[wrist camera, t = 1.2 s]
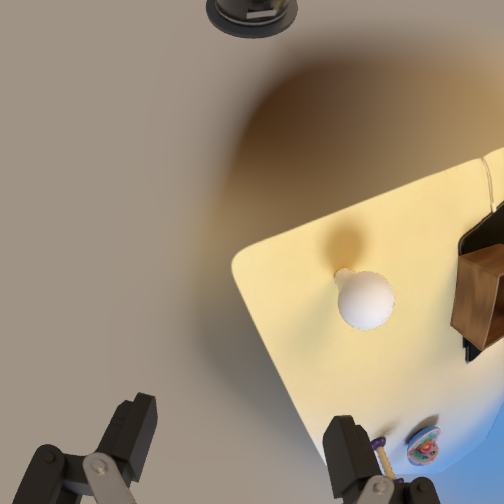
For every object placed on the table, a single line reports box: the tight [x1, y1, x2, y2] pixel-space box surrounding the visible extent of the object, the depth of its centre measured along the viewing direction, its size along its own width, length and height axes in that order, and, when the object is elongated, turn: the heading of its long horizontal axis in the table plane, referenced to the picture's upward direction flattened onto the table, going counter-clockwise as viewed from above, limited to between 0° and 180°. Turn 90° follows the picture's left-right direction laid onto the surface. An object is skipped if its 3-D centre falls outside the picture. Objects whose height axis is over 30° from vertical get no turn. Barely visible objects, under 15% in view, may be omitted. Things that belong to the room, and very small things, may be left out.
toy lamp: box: [371, 437, 404, 482], centre depth 37 cm, size 5×5×17 cm
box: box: [451, 243, 504, 351], centre depth 31 cm, size 13×13×10 cm
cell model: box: [407, 427, 441, 466], centre depth 41 cm, size 10×12×10 cm
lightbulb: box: [335, 268, 395, 330], centre depth 28 cm, size 6×6×11 cm
